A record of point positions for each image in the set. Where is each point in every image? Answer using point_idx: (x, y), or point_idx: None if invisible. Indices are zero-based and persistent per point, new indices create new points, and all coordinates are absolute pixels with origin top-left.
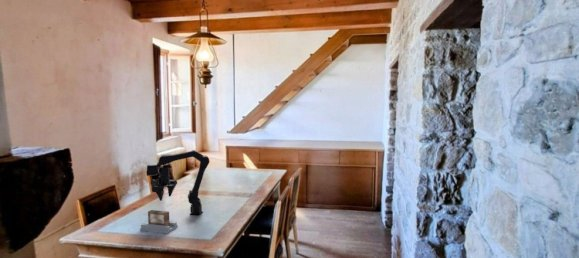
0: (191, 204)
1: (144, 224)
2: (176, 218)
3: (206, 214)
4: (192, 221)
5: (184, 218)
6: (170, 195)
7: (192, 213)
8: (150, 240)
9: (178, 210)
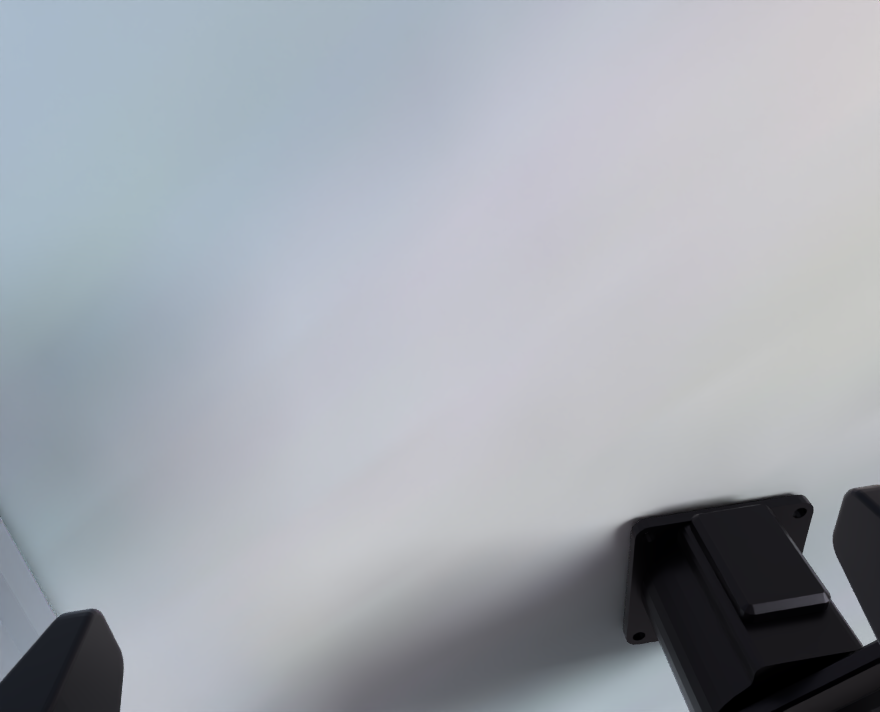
0: (790, 661)
1: None
2: (402, 445)
3: None
4: (383, 696)
5: (451, 550)
6: (860, 598)
7: (657, 565)
8: None
9: (869, 162)
